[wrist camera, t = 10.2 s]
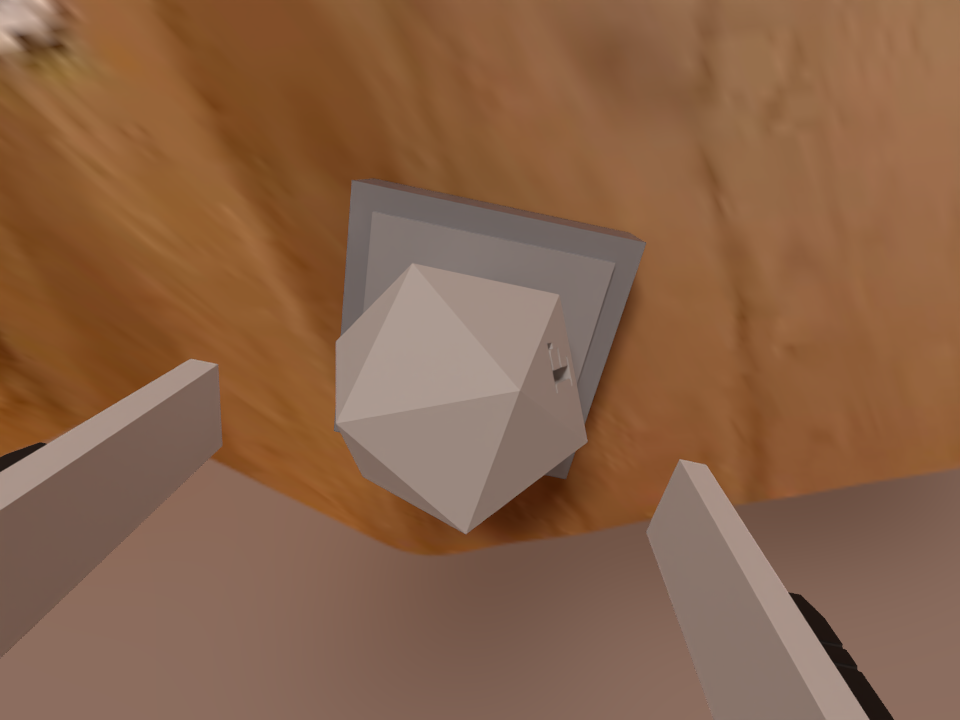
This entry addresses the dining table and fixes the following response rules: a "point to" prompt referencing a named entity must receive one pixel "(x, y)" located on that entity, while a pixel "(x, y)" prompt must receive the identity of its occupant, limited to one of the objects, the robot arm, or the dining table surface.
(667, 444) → the dining table surface
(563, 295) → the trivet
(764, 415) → the dining table surface
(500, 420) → the die
